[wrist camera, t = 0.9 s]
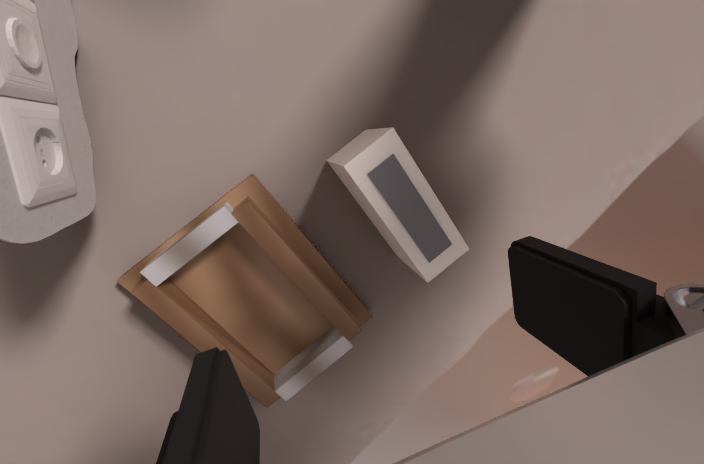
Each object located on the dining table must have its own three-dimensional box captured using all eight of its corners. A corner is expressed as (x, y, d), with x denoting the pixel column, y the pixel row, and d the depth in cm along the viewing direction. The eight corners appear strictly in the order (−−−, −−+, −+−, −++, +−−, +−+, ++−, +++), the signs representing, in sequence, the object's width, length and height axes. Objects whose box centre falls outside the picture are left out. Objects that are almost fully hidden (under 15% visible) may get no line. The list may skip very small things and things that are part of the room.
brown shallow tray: (252, 173, 30) (251, 177, 26) (369, 311, 36) (380, 329, 33) (120, 276, 29) (103, 293, 26) (263, 397, 35) (263, 424, 32)
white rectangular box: (365, 129, 31) (393, 127, 24) (430, 228, 35) (470, 249, 29) (326, 160, 31) (344, 166, 24) (396, 256, 35) (428, 283, 28)
